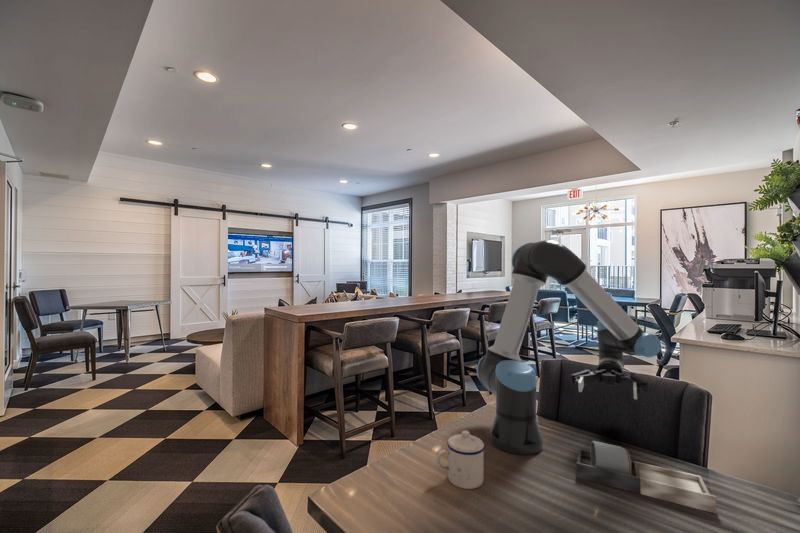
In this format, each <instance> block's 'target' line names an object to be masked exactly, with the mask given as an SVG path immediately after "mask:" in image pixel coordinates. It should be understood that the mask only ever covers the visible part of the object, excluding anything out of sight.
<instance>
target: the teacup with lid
mask: <svg viewBox="0 0 800 533" xmlns="http://www.w3.org/2000/svg"><path fill="white" fill-rule="evenodd" d="M446 445H447V447H448V448H447V449H442V450H439V452H437V454H436V455H435V461H436V464H437V466H438V468H439V469H440V470H441V471H443V472H447V473H448V474H447V476H448V480H449V481H450V483H451V484H453V485H454V486H455V487H458V488H460V489H465V490H472V489H476V488H479V487H481V486H482V484H483V483H484V450H485V444H484V442H483V440H482V439H480V438H479V437H478V436H475V435H472V434H471V432H470V431H469V430H463V431H461V433H458V434H454V435H451V436H450V437H449V438H448V440H447V444H446ZM444 455H447V456H448V457H447V459H448V460H447V462H448V464H447V465H448V466H443V465H442V464H441V462H440V459H441V457H442V456H444Z"/></svg>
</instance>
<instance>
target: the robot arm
mask: <svg viewBox="0 0 800 533" xmlns="http://www.w3.org/2000/svg"><path fill="white" fill-rule="evenodd" d="M511 266H512V268H513V270H512V272H511V277H512V278H513V281H514V282H513V284H512V287H511V290H510V293H509V297H508V299H507V303H506V305H505V309H504V311H503V315H502V319H501V322H500V325H499V328H498V331H497V333H496V337H495V341H494V343H493V344H492V345H491V346H489V347H488V348H487V350H486V353H485V355H483V356H482V357H481V358H480V359H479V360H478V362H477V366H476V376H477V379H478V380H479V382H480V383H481V385H482V386H483V387H484V389H486V390H488V391H489V392H490V393H492V394H493V395H494V396H495V417H494V419H493V422H492V426H491V429H490V433H489V434H490V435H489V438H490V442H491V444H492V445H493V446H495V447H496V448H497V449H499V450H501V451H504V452H507V453H510V454H516V455H525V456H526V455H534V454H537V453H540V452H541V451H542V449H543V448H544V447H543V446H544V444H543V441H544V440H543V436H542V432H541V430H540V427H539V424H538V421H537V383H538V382H537V374H536V371H535V369H534V367H532V366H531V365H530V364H528V363H526V362H522V359H521V357H520V355H519V353H520V349H521V347H522V343H523V340H524V337H525V334H526V331H527V329H528V328H527V327H528V326H529V325H528V324H529V322H530V318H531V315H532V312H533V308H534V306H535V304H536V303H535V302H536V299H537V296H538V293H539V290H540V288H542V287H544V286H546V284H547V283H546V282H547V280H548V277H550V278H552V279H553V280H555V281H556V282H557V283H558V284H559V285H560V286H563V287H565V286H566V287H567V289H568V290H569V291H570V292H571V293H572V294H574V296H575V297H576V298H577V299H578V300H579V301H580V302H581V303H582V304H583V305H584V306H585V308H587V310H589V311H590V312H591V313H592V315H593V316H594V317H596V318H597V320H598V321H597V328H596V329H597V330H596V332H597V334H596V335H597V342H598V344H597V346H598V364H597V368H596V370H595V371H591V370H590V369H589V368H585V369H584V370H581V371H579V372H576V373H572V374H570V382H571V384H575V386H577V387H578V393H582V392H583V390H584V386H585V385H586V384H592V383H597V384H600V383H603V384H605V385H607V386H620V387H621V386H622V387H623V386H624V387H626V388H628V389H631V390H633V392H632V393H633V399H634V400H638V395H639V394H641V395H642V393H643V392H645V393H649V392H650V386H649V385H650V384H649V382H647V381H646V380H644V379H642V378H640V377H639V376H636V375H635V373H629V374H628V375H625V374H624V368H625V360H624V352H626V353H629V354H633V355H636V356H639V357H645V358H653V357H655V356H657V355H658V353H660V350H661V347H662V346H661V345H662V344H661V341H660V339H659V337H658V336H657V335H656V334H653V333H651V332H646V331H644V329H642V328H641V327H640V326H639V325H638V324H637V322H635V321H634V320H633V318H632V317H631V316H630V315H628V313H627V312H626V311H625V310H624V309H623V308H622V307H621V306H620V305H619V304H618V302H616V301H615V299H613V297H612V296H611V295H610V294H609V293H608V292H607V291H606V290H605V289H604V288H603V287H602V286H601V285H600V284H599V283H598V282H597V281H596V279H595V278H594V277H593V276H592V275H591V274H590V273H589V272H588V271H587V265H586V263H584V262H583V261H582V260H581V258H579V256H578V255H576V253H575V252H573V251H572V250H571V249H569V247H567V246H565V245H564V244H562V243H561V242H559V241H555V240H551V239H550V240H549V239H545V240H541V241H537V242H528V243H525V244H523V245H520V246H519V247H517V249H516V250H514V252H513V254H512V257H511ZM642 391H643V392H642Z"/></svg>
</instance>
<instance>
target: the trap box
mask: <svg viewBox="0 0 800 533" xmlns="http://www.w3.org/2000/svg"><path fill="white" fill-rule="evenodd" d="M577 453H578V454H577V461H576V464H575V467H576V468H575V477H576V478H578V479H582V480H585V481H590V482H593V483H598V484H601V485H605V486H609V487H612V488H616V489H620V490H625V491H628V492H631V493H632V492H633V493H636V494H640V495H644V496H647V497H651V498H655V499H658V500H662V501H666V502H670V503H674V504H677V505H681V506H685V507H689V508H693V509H697V510H700V511H704V512H709V513H711V514H717V496H716V495H714V494H710V492H709V490H708V488H707V486H706V483H705V482H704V480H703V478H702V476H701V475H698V474H693V473H689V472H684V471H680V470H676V469H670V468H666V467H662V466H657V465H653V464H648V463H645V462H640V461H635V460H631V468H633V469H634V473H635V474H634V475H632V474H631V475H628V474H624V473H620V472H616V471H611V470H607V469H603V468H599V467H595V466H591V464H590V465H589V464H586V463H582V459H581V458H582V457H587V458H590V450H586V449H581V448H579V449H578V452H577Z"/></svg>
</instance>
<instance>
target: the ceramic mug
mask: <svg viewBox="0 0 800 533" xmlns="http://www.w3.org/2000/svg"><path fill="white" fill-rule="evenodd" d="M589 451H590V457H589V458H590V459H589V460H590V465H591V466H595V467H599V468H603V469H607V470H611V471H616V472H620V473H624V474H628V475H632V467H631V461H632V460H631V454H630V453H629V451H628V450H627V449H626V448H624V447H622V446H618V445H614V444H609V443H605V442H601V441H596V440H592V441H591V443H590V450H589Z"/></svg>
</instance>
